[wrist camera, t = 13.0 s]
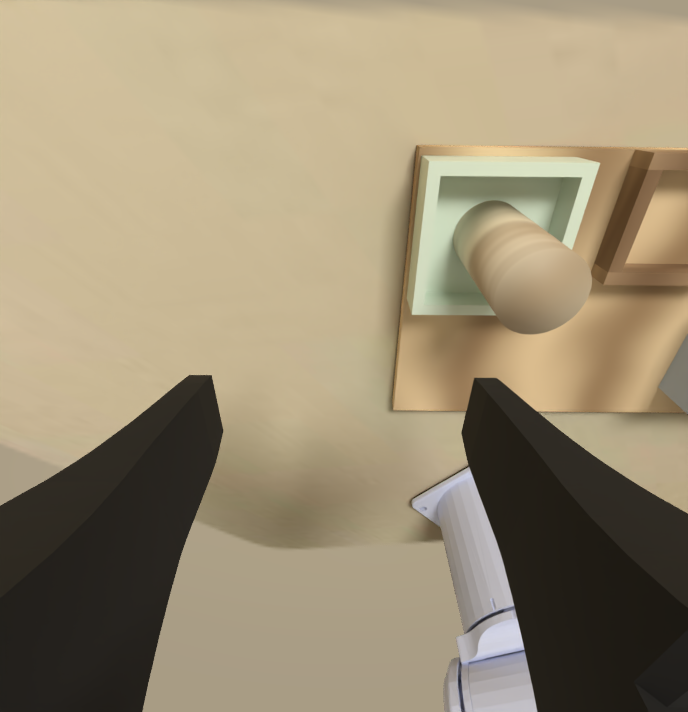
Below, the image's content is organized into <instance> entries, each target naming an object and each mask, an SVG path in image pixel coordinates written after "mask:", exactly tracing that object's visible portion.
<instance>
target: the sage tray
mask: <svg viewBox="0 0 688 712" xmlns="http://www.w3.org/2000/svg"><path fill="white" fill-rule="evenodd" d="M599 166H600V163H599V162H595V161H591V160H587V159H583V158H579V157H529V156H432V155H421V165H420V174H419V184H418V194H417V203H416V213H415V223H414V232H413V242H412V252H411V261H410V271H409V281H408V290H407V301H408V304H409V307H410V311H411V314H412V315H495V316H496V314H495V313H494V311H493V310H492V308H491V307H490V305H489V304H488V302H487V301H486V299H485V297H484V296H483V294H482V293H481V291H480V290H479V288H478V287H477V285H476V284H475V282H474V280H473V279H472V277H471V276H470V274H469V273H468V271H467V270H466V268H465V267H464V265H463V263H462V262H461V260H460V259H459V257H458V256H457V254H456V252H455V249H454V245H453V236H454V231H455V228H456V226H457V224H458V222H459V220H460V219H461V218H462V216H463V215H464V214H465V213H466V212H467V211H468V210H469V209H471V208H472V207H474V206H475V205H477V204H479V203H482V202H485V201H491V200H498V201H503V202H506V203H508V204H510V205H511V206H513V207H514V208H516V209H517V210H518V211H520V212H521V213H522V214H524V215H525V216H526V217H528V218H529V219H530V220H532V221H533V222H535V223H536V224H537V225H539V226H540V227H541V228H543V229H544V230H545V231H547V232H548V233H549V234H551V235H552V236H554V237H555V238H556V239H558V240H559V241H560V242H562V243H563V244H564V245H566V246H567V247H568V248H570V249H571V250H572V248H573V245H574V242H575V239H576V236H577V233H578V230H579V227H580V224H581V221H582V218H583V215H584V212H585V208H586V205H587V202H588V199H589V196H590V193H591V190H592V187H593V184H594V181H595V178H596V175H597V172H598V169H599Z"/></svg>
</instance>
